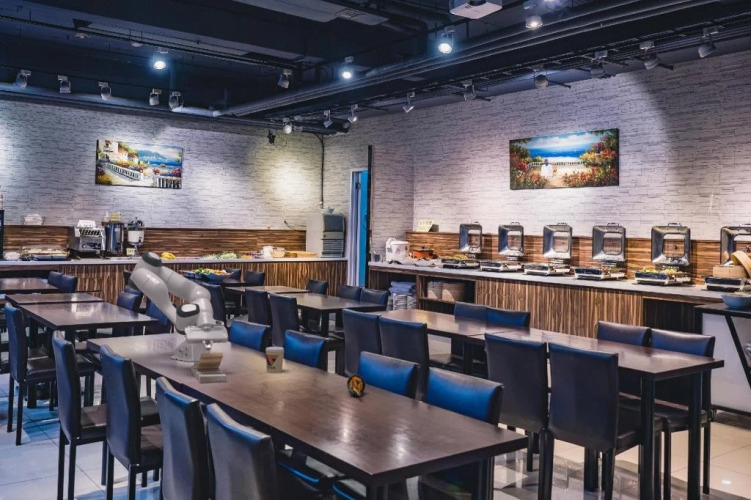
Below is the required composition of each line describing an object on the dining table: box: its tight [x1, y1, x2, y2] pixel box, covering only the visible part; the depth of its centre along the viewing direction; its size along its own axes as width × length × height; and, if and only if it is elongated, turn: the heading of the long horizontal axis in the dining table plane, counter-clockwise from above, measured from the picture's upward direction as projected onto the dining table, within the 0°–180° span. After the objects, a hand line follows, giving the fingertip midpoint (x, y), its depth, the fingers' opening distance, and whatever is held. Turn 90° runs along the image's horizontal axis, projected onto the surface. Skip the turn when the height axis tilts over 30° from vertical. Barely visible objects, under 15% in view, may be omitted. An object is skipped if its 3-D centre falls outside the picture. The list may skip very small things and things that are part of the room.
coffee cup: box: [265, 346, 285, 374], centre depth 350 cm, size 9×9×12 cm
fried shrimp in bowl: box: [346, 374, 367, 397], centre depth 303 cm, size 9×11×18 cm
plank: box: [197, 352, 224, 370], centre depth 329 cm, size 13×10×2 cm
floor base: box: [190, 361, 227, 384], centre depth 333 cm, size 27×12×5 cm, turn 24°
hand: (208, 349), depth 331 cm, fingers closed
